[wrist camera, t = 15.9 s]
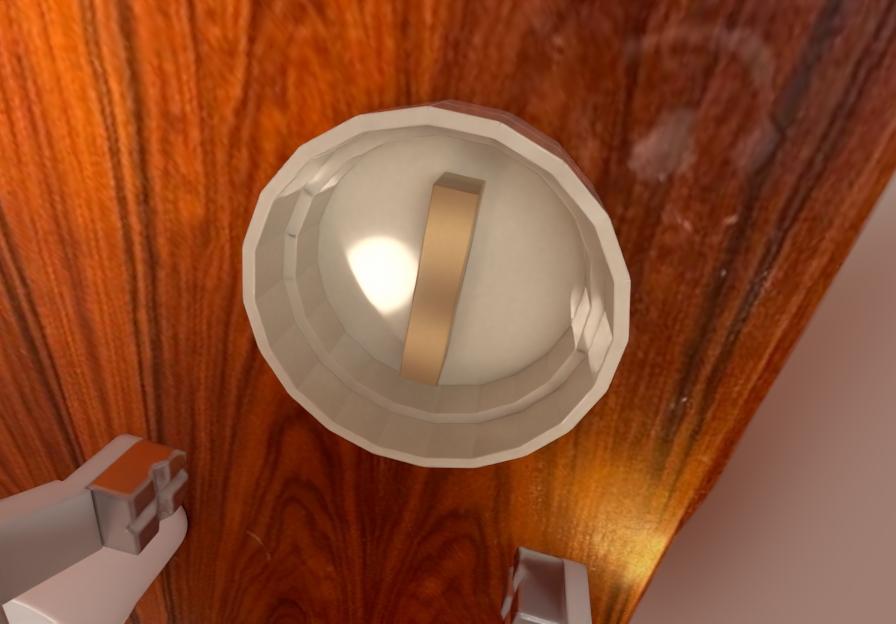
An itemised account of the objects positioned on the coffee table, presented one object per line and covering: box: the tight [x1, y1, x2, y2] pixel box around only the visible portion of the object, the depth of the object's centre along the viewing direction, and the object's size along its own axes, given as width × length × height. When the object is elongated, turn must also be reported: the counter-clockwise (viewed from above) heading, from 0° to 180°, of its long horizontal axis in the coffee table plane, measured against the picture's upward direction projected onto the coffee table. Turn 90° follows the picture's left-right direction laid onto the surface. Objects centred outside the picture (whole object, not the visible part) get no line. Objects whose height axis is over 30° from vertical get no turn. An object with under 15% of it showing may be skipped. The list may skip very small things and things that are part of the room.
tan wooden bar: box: [399, 172, 486, 387], centre depth 24 cm, size 10×2×3 cm, turn 169°
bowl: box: [242, 99, 631, 468], centre depth 23 cm, size 16×16×6 cm
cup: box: [2, 505, 187, 624], centre depth 35 cm, size 8×12×10 cm
